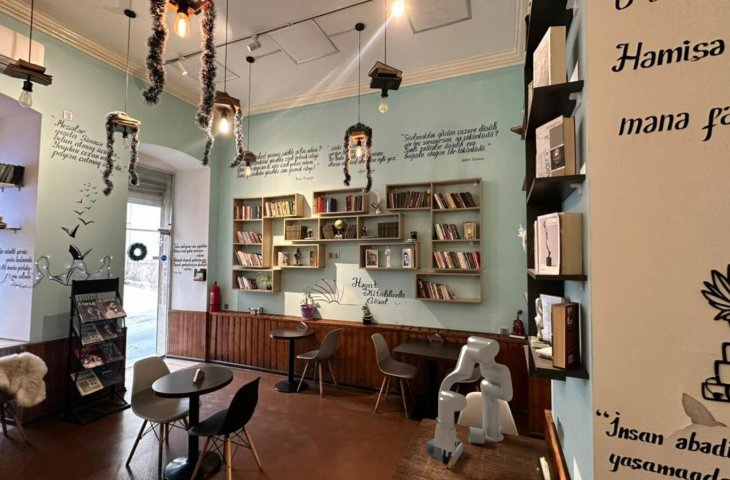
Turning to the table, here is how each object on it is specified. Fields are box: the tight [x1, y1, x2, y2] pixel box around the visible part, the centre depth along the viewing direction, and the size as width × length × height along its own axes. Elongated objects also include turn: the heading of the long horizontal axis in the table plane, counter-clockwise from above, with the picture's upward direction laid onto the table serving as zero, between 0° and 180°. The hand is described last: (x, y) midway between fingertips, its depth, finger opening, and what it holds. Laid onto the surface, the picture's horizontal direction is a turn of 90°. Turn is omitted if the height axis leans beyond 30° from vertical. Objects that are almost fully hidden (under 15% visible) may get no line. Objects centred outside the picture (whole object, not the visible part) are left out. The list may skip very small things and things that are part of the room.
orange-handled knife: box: [448, 441, 464, 469], centre depth 163 cm, size 20×1×4 cm, turn 147°
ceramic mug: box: [468, 426, 486, 445], centre depth 184 cm, size 11×8×8 cm
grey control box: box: [426, 437, 462, 463], centre depth 170 cm, size 17×10×6 cm, turn 131°
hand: (445, 463), depth 158 cm, fingers closed
